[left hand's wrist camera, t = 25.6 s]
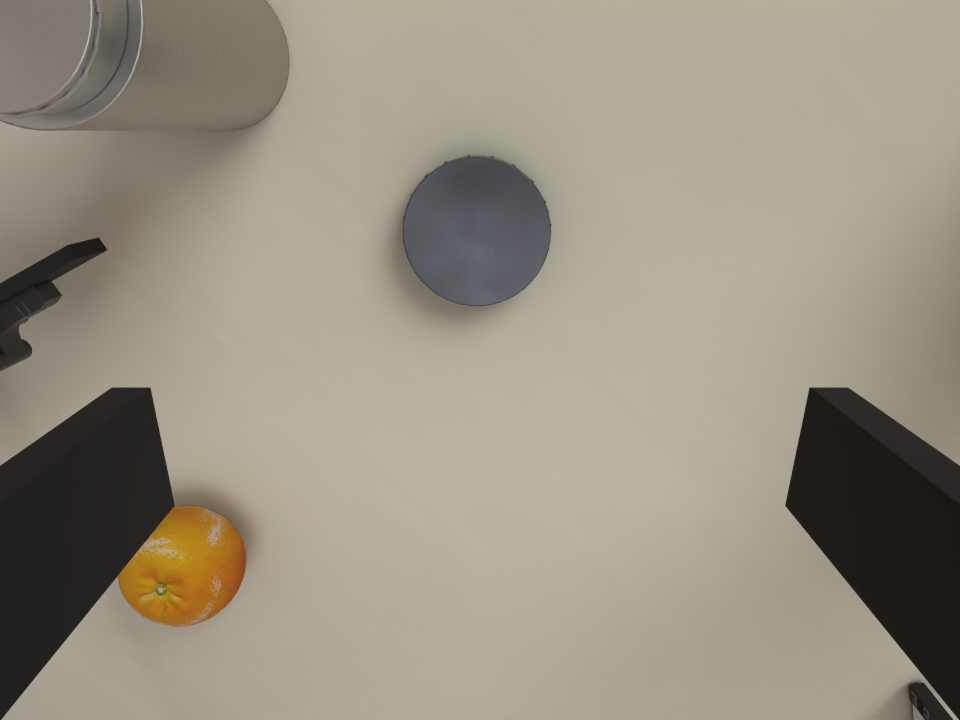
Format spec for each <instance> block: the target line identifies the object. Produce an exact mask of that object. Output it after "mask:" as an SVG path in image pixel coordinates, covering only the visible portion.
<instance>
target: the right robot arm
mask: <svg viewBox="0 0 960 720" xmlns="http://www.w3.org/2000/svg"><path fill="white" fill-rule="evenodd" d="M106 250H107V249H106V247H105V246H104V244H103V243H102V242H101V240H100V239H99V238H95V239H91V240H87V241H83V242H79V243H75V244H71V245H67V246H66V247H64V248H62V249H60V250H59V251H57V252H55V253H53V254H51V255H50V256H48V257H46V258H44V259H43V260H41V261H39V262H37V263H36V264H34V265H32V266H30V267H29V268H27V269H25V270H23V271H21V272H20V273H18V274H16V275H14V276H13V277H11V278H9V279H7V280H6V281H4V282H2V283H0V371H1V370H4V369H6V368H8V367H10V366H12V365H14V364H16V363H18V362H20V361H22V360H24V359H26V358H28V357H30V356H31V354H32V348H31V346H30V344H29V343H28V342H27V341H25V340H23V339H21V337H20V335H19V325H20V324H22V323H25V322H26V321H27V320H28V319H29V318H30V317H32V316H33V315H35V314H37V313H39V312H41V311H42V310H44V309H46V308H48V307H50V306H52V305H53V304H55V303H57V302H58V300H59V299H60V297H61V296H62V295H61V293H60V292H59V291H58V289H57V288H56V287H55V286H54V284H53V283H52V282H51V281H53V280H55V279H56V278H58V277H60V276H62V275H63V274H65V273H67V272H69V271H71V270H72V269H74V268H76V267H78V266H80V265H81V264H83V263H85V262H87V261H89V260H90V259H92V258H94V257H96V256H97V255H99V254H101V253H103V252H105V251H106Z"/></svg>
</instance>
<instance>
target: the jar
mask: <svg viewBox="0 0 960 720" xmlns="http://www.w3.org/2000/svg"><path fill="white" fill-rule="evenodd" d="M288 72H289V52H288V46H287V41H286V37H285V34H284V31H283V28H282V26H281V24H280V21H279V19H278V17H277V16H276V14H275V12H274V11H273V9H272V8H271V6H270V5H269V4H268V3H267V1H266V0H0V121H2V122H5V123H7V124H11V125H14V126H18V127H21V128H26V129H33V130H236V129H242V128H245V127H248V126H251V125H253V124H255V123H257V122H259V121H260V120H262V119H263V118H264V117H266V116H267V115H268V114H269V113H270V112H271V111H272V110H273V108H274V107H275V106H276V105H277V103H278V101H279V100H280V98H281V96H282V94H283V92H284V89H285V86H286V83H287V79H288Z"/></svg>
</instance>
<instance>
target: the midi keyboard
mask: <svg viewBox="0 0 960 720" xmlns="http://www.w3.org/2000/svg"><path fill="white" fill-rule="evenodd" d="M910 701H911V702H912V704H913V720H953V719H952V718H951V716H950V715H949V714H948V713H947V711H946V710H945V709H944V708H943V706H942V705H941V704H940V703H939V701H938V700H937V699H936V698H935V696H934V695H933V694H932V693H931V691H930V690H929V689H928V688H927V686H926V685H925V684H924V683H918V684H913V685H910Z"/></svg>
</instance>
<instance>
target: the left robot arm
mask: <svg viewBox="0 0 960 720" xmlns="http://www.w3.org/2000/svg"><path fill="white" fill-rule="evenodd" d="M174 506H175V505H174V500H173V495H172V490H171V485H170V481H169V476H168V471H167V466H166V461H165V456H164V451H163V447H162V442H161V437H160V432H159V427H158V422H157V418H156V413H155V408H154V403H153V398H152V393H151V388H111V389H109V390H108V391H106V392H105V393H104V394H102V395H101V396H99V397H98V398H96V399H95V400H94V401H92V402H91V403H89V404H88V405H86V406H85V407H84V408H82V409H81V410H79V411H78V412H76V413H75V414H74V415H72V416H71V417H69V418H68V419H66V420H65V421H64V422H62V423H61V424H59V425H58V426H56V427H55V428H54V429H52V430H51V431H49V432H48V433H46V434H45V435H44V436H42V437H41V438H39V439H38V440H37V441H35V442H34V443H32V444H31V445H29V446H28V447H27V448H25V449H24V450H22V451H21V452H19V453H18V454H17V455H15V456H14V457H12V458H11V459H9V460H8V461H7V462H5V463H4V464H2V465H1V466H0V720H1V719H2V718H3V717H4V715H5V714H6V713H7V712H8V710H9V709H10V708H11V707H12V705H13V704H14V703H15V702H16V701H17V699H18V698H19V697H20V696H21V694H22V693H23V692H24V691H25V689H26V688H27V687H28V686H29V685H30V683H31V682H32V681H33V680H34V678H35V677H36V676H37V675H38V673H39V672H40V671H41V670H42V669H43V667H44V666H45V665H46V664H47V662H48V661H49V660H50V659H51V657H52V656H53V655H54V654H55V652H56V651H57V650H58V649H59V648H60V646H61V645H62V644H63V643H64V641H65V640H66V639H67V638H68V636H69V635H70V634H71V633H72V632H73V630H74V629H75V628H76V627H77V625H78V624H79V623H80V622H81V620H82V619H83V618H84V617H85V616H86V614H87V613H88V612H89V611H90V609H91V608H92V607H93V606H94V604H95V603H96V602H97V601H98V600H99V598H100V597H101V596H102V595H103V593H104V592H105V591H106V590H107V588H108V587H109V586H110V585H111V583H112V582H113V581H114V580H115V579H116V577H117V576H118V575H119V574H120V572H121V571H122V570H123V569H124V567H125V566H126V565H127V564H128V563H129V561H130V560H131V559H132V558H133V556H134V555H135V554H136V553H137V551H138V550H139V549H140V548H141V547H142V545H143V544H144V543H145V542H146V540H147V539H148V538H149V537H150V535H151V534H152V533H153V532H154V531H155V529H156V528H157V527H158V526H159V524H160V523H161V522H162V521H163V519H164V518H165V517H166V516H167V514H168V513H169V512H170V511H171V510H172V508H173V507H174ZM785 506H786V507H787V508H788V510H789V511H790V512H791V513H792V515H793V516H794V517H795V518H796V519H797V521H798V522H799V523H800V524H801V526H802V527H803V528H804V529H805V531H806V532H807V533H808V534H809V535H810V537H811V538H812V539H813V540H814V542H815V543H816V544H817V545H818V547H819V548H820V549H821V550H822V551H823V553H824V554H825V555H826V556H827V558H828V559H829V560H830V561H831V563H832V564H833V565H834V566H835V567H836V569H837V570H838V571H839V572H840V574H841V575H842V576H843V577H844V579H845V580H846V581H847V582H848V583H849V585H850V586H851V587H852V588H853V590H854V591H855V592H856V593H857V595H858V596H859V597H860V598H861V600H862V601H863V602H864V603H865V604H866V606H867V607H868V608H869V609H870V611H871V612H872V613H873V614H874V616H875V617H876V618H877V619H878V620H879V622H880V623H881V624H882V625H883V627H884V628H885V629H886V630H887V632H888V633H889V634H890V635H891V636H892V638H893V639H894V640H895V641H896V643H897V644H898V645H899V646H900V648H901V649H902V650H903V651H904V652H905V654H906V655H907V656H908V657H909V659H910V660H911V661H912V662H913V664H914V665H915V666H916V667H917V669H918V670H919V671H920V672H921V673H922V675H923V676H924V677H925V678H926V680H927V681H928V682H929V683H930V685H931V686H932V687H933V688H934V689H935V691H936V692H937V693H938V694H939V696H940V697H941V698H942V699H943V701H944V702H945V703H946V704H947V705H948V707H949V708H950V709H951V710H952V712H953V713H954V714H955V715H956V717H957V718H958V719H959V720H960V466H959V465H958V464H956V463H955V462H953V461H952V460H951V459H949V458H948V457H946V456H945V455H943V454H942V453H941V452H939V451H938V450H936V449H935V448H933V447H932V446H931V445H929V444H928V443H926V442H925V441H923V440H922V439H921V438H919V437H918V436H916V435H915V434H914V433H912V432H911V431H909V430H908V429H906V428H905V427H904V426H902V425H901V424H899V423H898V422H896V421H895V420H894V419H892V418H891V417H889V416H888V415H886V414H885V413H884V412H882V411H881V410H879V409H878V408H876V407H875V406H874V405H872V404H871V403H869V402H868V401H866V400H865V399H864V398H862V397H861V396H859V395H858V394H856V393H855V392H854V391H852V390H851V389H849V388H809V393H808V398H807V403H806V408H805V413H804V418H803V422H802V427H801V432H800V437H799V442H798V447H797V451H796V456H795V461H794V466H793V471H792V476H791V480H790V485H789V490H788V495H787V500H786V505H785Z"/></svg>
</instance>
